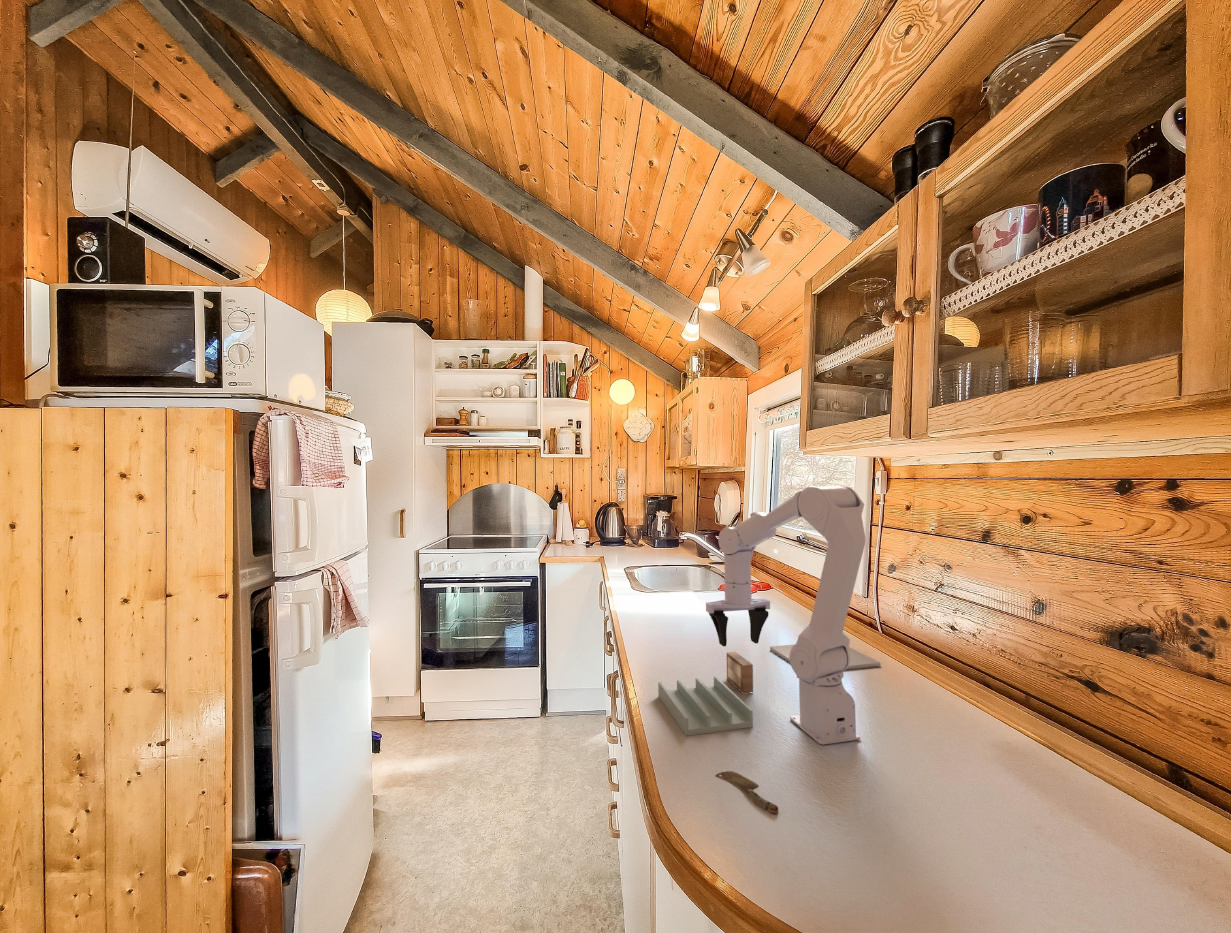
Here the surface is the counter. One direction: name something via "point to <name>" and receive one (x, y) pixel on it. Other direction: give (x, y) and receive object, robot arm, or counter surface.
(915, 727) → the counter surface
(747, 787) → the brown knife
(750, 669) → the tan wooden slab
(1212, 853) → the counter surface
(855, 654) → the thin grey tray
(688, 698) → the notched rack
